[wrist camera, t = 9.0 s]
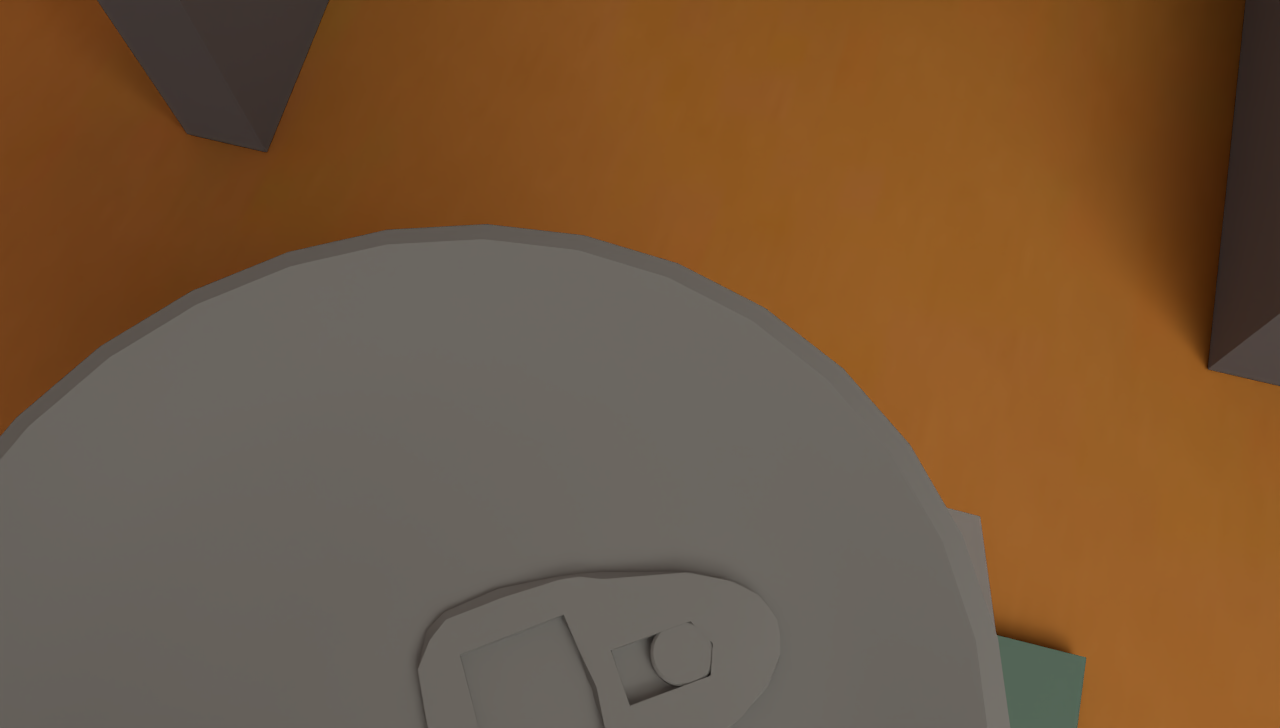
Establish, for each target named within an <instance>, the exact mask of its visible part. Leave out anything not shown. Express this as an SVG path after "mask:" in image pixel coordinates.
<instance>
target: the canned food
mask: <svg viewBox="0 0 1280 728" xmlns="http://www.w3.org/2000/svg"><path fill="white" fill-rule="evenodd" d="M0 728H1010V722H1009V715H1008V707H1007V700H1006V693H1005V686H1004V678H1003V671H1002V664H1001V657H1000V650H999V642H998V637H997V634H996V631H995V628H994V625H993V622H992V619H991V616H990V614H989V611H988V608H987V605H986V602H985V599H984V596H983V593H982V590H981V588H980V585H979V582H978V579H977V576H976V573H975V570H974V567H973V564H972V561H971V559H970V556H969V553H968V550H967V547H966V544H965V541H964V538H963V535H962V533H961V532H960V530H959V528H958V527H957V525H956V523H955V521H954V520H953V518H952V516H951V515H950V513H949V511H948V509H947V508H946V506H945V504H944V503H943V501H942V499H941V497H940V496H939V494H938V492H937V491H936V489H935V487H934V485H933V484H932V482H931V480H930V478H929V477H928V475H927V473H926V472H925V470H924V468H923V466H922V465H921V463H920V461H919V460H918V458H917V456H916V454H915V453H914V451H913V449H912V448H911V446H910V444H909V443H908V442H907V441H906V440H905V439H904V437H903V436H902V435H901V434H900V433H899V432H898V431H897V429H896V428H895V427H894V426H893V425H892V424H891V423H890V422H889V420H888V419H887V418H886V417H885V416H884V415H883V414H882V412H881V411H880V410H879V409H878V408H877V407H876V406H875V404H874V403H873V402H872V401H871V400H870V399H869V398H868V396H867V395H866V394H865V393H864V392H863V391H862V390H861V388H860V387H859V386H858V385H857V384H856V383H855V382H854V380H853V379H852V378H851V377H850V376H849V375H848V374H847V373H846V371H845V370H844V369H843V368H842V367H840V366H839V365H838V364H836V363H835V362H834V361H833V360H831V359H830V358H829V357H827V356H826V355H825V354H824V353H822V352H821V351H820V350H818V349H817V348H816V347H815V346H813V345H812V344H811V343H809V342H808V341H807V340H806V339H804V338H803V337H802V336H800V335H799V334H798V333H796V332H795V331H794V330H793V329H791V328H790V327H789V326H787V325H786V324H785V323H784V322H782V321H781V320H780V319H778V318H777V317H776V316H775V315H773V314H772V313H771V312H769V311H768V310H767V309H766V308H764V307H762V306H760V305H758V304H756V303H754V302H752V301H750V300H748V299H746V298H744V297H742V296H740V295H738V294H737V293H735V292H733V291H731V290H729V289H727V288H725V287H723V286H721V285H719V284H717V283H715V282H713V281H711V280H709V279H707V278H705V277H703V276H701V275H699V274H697V273H695V272H694V271H692V270H690V269H688V268H686V267H684V266H682V265H680V264H678V263H674V262H671V261H668V260H664V259H661V258H658V257H654V256H651V255H648V254H644V253H641V252H638V251H634V250H631V249H628V248H624V247H621V246H618V245H614V244H611V243H608V242H604V241H601V240H598V239H594V238H591V237H588V236H584V235H576V234H567V233H558V232H550V231H541V230H532V229H524V228H515V227H507V226H498V225H489V224H482V225H464V226H446V227H428V228H410V229H392V230H384V231H380V232H375V233H371V234H366V235H362V236H357V237H353V238H349V239H344V240H340V241H335V242H331V243H326V244H322V245H317V246H313V247H309V248H304V249H300V250H295V251H291V252H287V253H285V254H282V255H280V256H277V257H275V258H272V259H270V260H267V261H265V262H262V263H260V264H257V265H255V266H253V267H250V268H248V269H245V270H243V271H240V272H238V273H235V274H233V275H230V276H228V277H225V278H223V279H220V280H218V281H215V282H213V283H210V284H208V285H205V286H203V287H201V288H198V289H196V290H193V291H191V292H189V293H188V294H186V295H184V296H183V297H181V298H179V299H178V300H176V301H174V302H173V303H171V304H169V305H168V306H166V307H165V308H163V309H161V310H160V311H158V312H156V313H155V314H153V315H151V316H150V317H148V318H146V319H145V320H143V321H141V322H140V323H138V324H136V325H135V326H133V327H131V328H130V329H128V330H127V331H125V332H123V333H122V334H120V335H118V336H117V337H115V338H113V339H112V340H110V341H108V342H107V343H105V344H103V345H102V346H100V347H99V348H98V349H97V350H95V351H94V352H93V353H92V354H91V355H90V356H88V357H87V358H86V359H85V360H84V361H82V362H81V363H80V364H79V365H78V366H77V367H75V368H74V369H73V370H72V371H71V372H70V373H68V374H67V375H66V376H65V377H64V378H62V379H61V380H60V381H59V382H58V383H57V384H55V385H54V386H53V387H52V388H51V389H50V390H48V391H47V392H46V393H45V394H44V395H42V396H41V397H40V398H39V399H38V400H37V401H35V402H34V403H33V404H32V405H31V406H30V407H28V408H27V409H26V410H25V411H24V412H22V413H21V414H20V415H19V416H18V417H17V418H16V419H15V420H14V421H13V422H12V423H11V425H10V426H9V427H8V428H7V429H6V430H5V432H4V433H3V434H2V435H1V436H0Z"/></svg>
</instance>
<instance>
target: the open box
mask: <svg viewBox="0 0 1280 728" xmlns="http://www.w3.org/2000/svg"><path fill="white" fill-rule="evenodd" d="M97 1H98V2H99V4H100V5H101V7H102V8H103V10H104V11H105V13H106V14H107V15H108V17H109V18H110V20H111V21H112V23H113V24H114V26H115V27H116V29H117V30H118V32H119V33H120V35H121V36H122V38H123V39H124V41H125V42H126V44H127V45H128V47H129V48H130V50H131V51H132V53H133V54H134V56H135V57H136V59H137V60H138V61H139V63H140V64H141V66H142V67H143V69H144V70H145V72H146V73H147V75H148V76H149V78H150V79H151V81H152V82H153V84H154V85H155V87H156V88H157V90H158V91H159V93H160V94H161V96H162V97H163V99H164V100H165V102H166V103H167V105H168V106H169V107H170V109H171V110H172V112H173V113H174V115H175V116H176V118H177V119H178V121H179V122H180V124H181V125H182V127H183V128H184V130H185V131H186V133H187V134H190V135H194V136H198V137H203V138H207V139H211V140H216V141H220V142H224V143H229V144H233V145H237V146H242V147H246V148H250V149H255V150H259V151H263V152H267V151H268V148H269V146H270V143H271V141H272V138H273V136H274V134H275V131H276V129H277V126H278V124H279V121H280V119H281V116H282V114H283V111H284V109H285V107H286V104H287V102H288V99H289V97H290V94H291V92H292V89H293V87H294V84H295V82H296V80H297V77H298V75H299V72H300V70H301V67H302V65H303V62H304V60H305V58H306V55H307V53H308V50H309V48H310V45H311V43H312V40H313V38H314V35H315V33H316V31H317V28H318V26H319V23H320V21H321V18H322V16H323V13H324V11H325V8H326V6H327V4H328V1H329V0H97ZM1208 369H1209V370H1213V371H1218V372H1222V373H1226V374H1231V375H1235V376H1239V377H1244V378H1248V379H1252V380H1257V381H1261V382H1265V383H1270V384H1274V385H1278V386H1280V0H1246V3H1245V13H1244V23H1243V32H1242V42H1241V52H1240V61H1239V71H1238V81H1237V91H1236V100H1235V110H1234V120H1233V129H1232V139H1231V149H1230V159H1229V168H1228V178H1227V188H1226V197H1225V207H1224V217H1223V227H1222V236H1221V246H1220V256H1219V266H1218V275H1217V285H1216V295H1215V304H1214V314H1213V324H1212V334H1211V343H1210V353H1209V363H1208Z"/></svg>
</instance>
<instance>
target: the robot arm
mask: <svg viewBox="0 0 1280 728" xmlns="http://www.w3.org/2000/svg"><path fill="white" fill-rule="evenodd" d="M947 509H948V511H949V513H950V515H951V516H952V518H953V520H954V521H955V523H956V525H957V527H958V528H959V530H960V532H961V533H962V535H963V538H964V541H965V544H966V547H967V550H968V553H969V556H970V559H971V561H972V564H973V567H974V570H975V573H976V576H977V579H978V582H979V585H980V588H981V590H982V593H983V596H984V599H985V602H986V605H987V608H988V611H989V614H990V616H991V619H992V622H993V625H994V628H995V622H994V615H993V607H992V600H991V593H990V585H989V578H988V571H987V563H986V556H985V549H984V542H983V534H982V527H981V520H980V516H976V515H972V514H969V513H965V512H961V511H957V510H953V509H949V508H947ZM995 631H996V629H995Z"/></svg>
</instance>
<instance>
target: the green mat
mask: <svg viewBox="0 0 1280 728" xmlns="http://www.w3.org/2000/svg"><path fill="white" fill-rule="evenodd" d="M997 637H998V642H999V650H1000V657H1001V664H1002V671H1003V678H1004V686H1005V693H1006V700H1007V707H1008V715H1009V722H1010V728H1077V725H1078V717H1079V710H1080V702H1081V694H1082V686H1083V678H1084V671H1085V663H1086V657H1082V656H1078V655H1074V654H1070V653H1066V652H1062V651H1058V650H1054V649H1050V648H1046V647H1042V646H1038V645H1034V644H1030V643H1026V642H1022V641H1018V640H1014V639H1011V638H1007V637H1003V636H999V635H997Z"/></svg>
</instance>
